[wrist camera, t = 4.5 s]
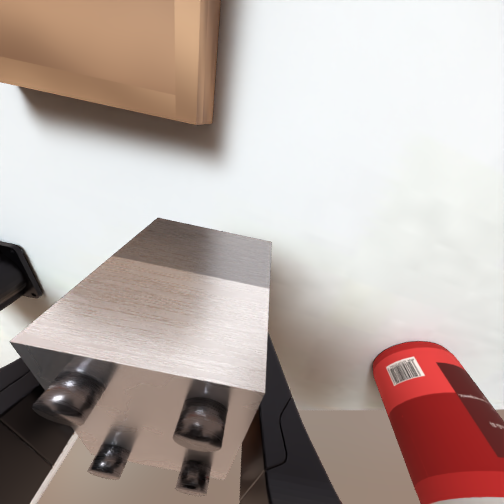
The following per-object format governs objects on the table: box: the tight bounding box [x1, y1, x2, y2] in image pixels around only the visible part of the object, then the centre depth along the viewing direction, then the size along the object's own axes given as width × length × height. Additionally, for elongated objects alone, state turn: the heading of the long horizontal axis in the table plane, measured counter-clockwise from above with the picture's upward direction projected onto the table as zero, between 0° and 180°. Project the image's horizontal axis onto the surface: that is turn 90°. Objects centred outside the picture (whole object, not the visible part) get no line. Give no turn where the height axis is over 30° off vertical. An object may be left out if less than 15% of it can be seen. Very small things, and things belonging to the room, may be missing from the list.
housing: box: [9, 218, 272, 496], centre depth 8 cm, size 7×5×7 cm
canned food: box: [373, 341, 504, 504], centre depth 18 cm, size 8×8×11 cm
